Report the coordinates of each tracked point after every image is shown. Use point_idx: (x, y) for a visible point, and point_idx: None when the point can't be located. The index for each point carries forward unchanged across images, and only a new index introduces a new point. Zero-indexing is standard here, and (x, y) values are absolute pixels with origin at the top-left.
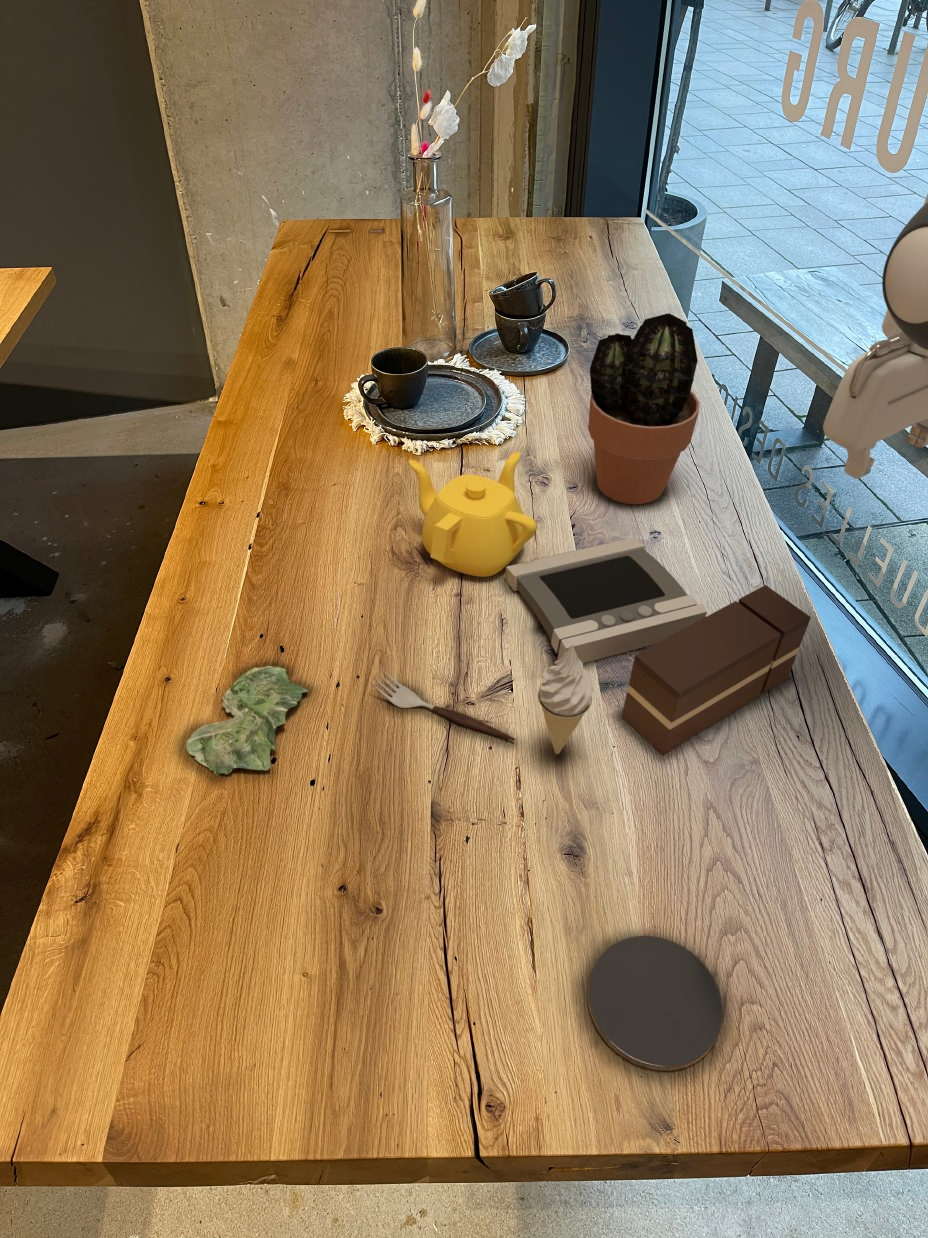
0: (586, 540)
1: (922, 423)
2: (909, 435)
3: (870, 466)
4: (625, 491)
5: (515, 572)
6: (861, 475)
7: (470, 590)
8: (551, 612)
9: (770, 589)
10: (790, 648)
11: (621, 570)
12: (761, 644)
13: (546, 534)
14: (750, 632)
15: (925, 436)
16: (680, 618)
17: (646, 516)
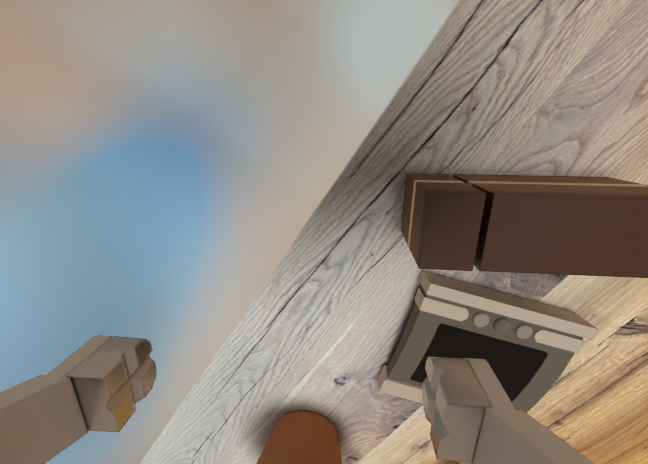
0: (402, 408)
1: (76, 422)
2: (141, 394)
3: (453, 381)
4: (333, 436)
5: None
6: (485, 365)
7: (544, 421)
8: (556, 369)
9: (422, 259)
10: (440, 183)
11: None
12: (536, 196)
13: (426, 432)
14: (523, 220)
15: (115, 371)
16: (464, 292)
17: (326, 400)
